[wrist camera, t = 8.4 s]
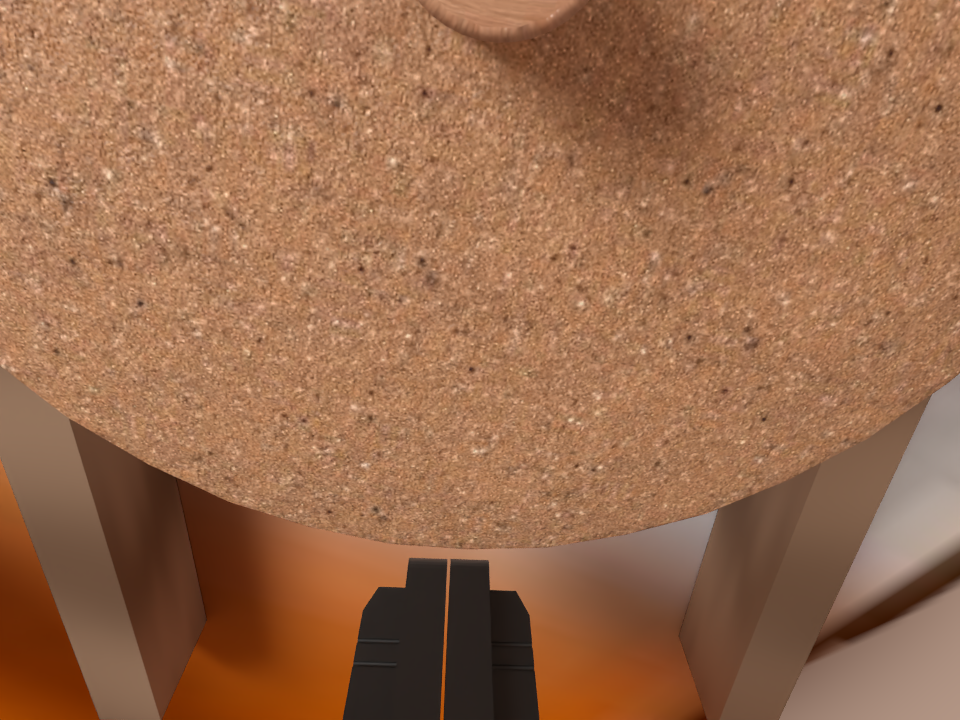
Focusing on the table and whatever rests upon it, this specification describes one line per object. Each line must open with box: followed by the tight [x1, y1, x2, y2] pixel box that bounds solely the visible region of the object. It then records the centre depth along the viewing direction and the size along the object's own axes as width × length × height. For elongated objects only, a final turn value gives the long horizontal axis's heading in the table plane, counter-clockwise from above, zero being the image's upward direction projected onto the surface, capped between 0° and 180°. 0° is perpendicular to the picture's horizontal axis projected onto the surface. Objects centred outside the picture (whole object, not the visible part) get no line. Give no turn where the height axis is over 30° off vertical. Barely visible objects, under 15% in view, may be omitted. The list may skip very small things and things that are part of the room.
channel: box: [0, 366, 932, 720], centre depth 11 cm, size 25×17×4 cm
